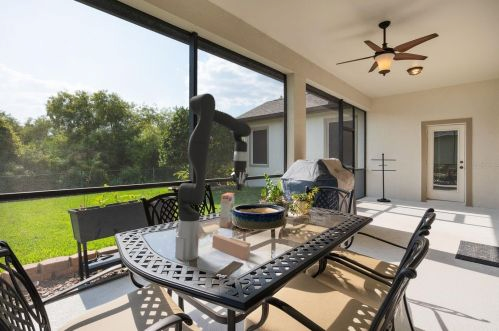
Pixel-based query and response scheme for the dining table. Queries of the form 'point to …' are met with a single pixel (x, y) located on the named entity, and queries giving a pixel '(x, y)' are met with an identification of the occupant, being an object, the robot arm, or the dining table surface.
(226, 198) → the cracker box
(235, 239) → the birch block
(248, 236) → the dining table surface
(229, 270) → the wooden plank
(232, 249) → the board
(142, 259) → the dining table surface
